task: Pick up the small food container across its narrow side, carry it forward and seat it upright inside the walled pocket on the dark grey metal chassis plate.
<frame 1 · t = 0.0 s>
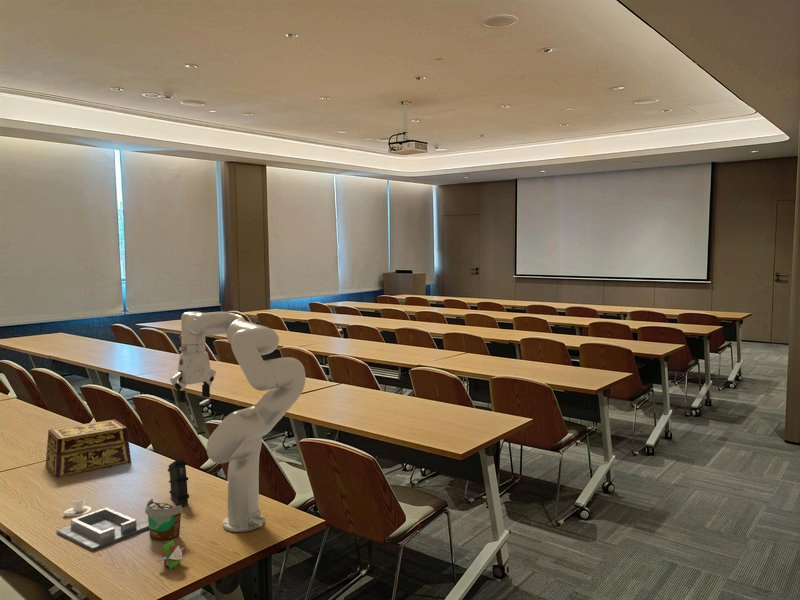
hand: (194, 399, 201), 37 cm above the table, tool pointing down, fingers open, 9 cm apart
food container: (159, 538, 179), on the table
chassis: (103, 530, 184), on the table
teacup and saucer: (67, 513, 197), on the table
decorative box: (88, 464, 243), on the table
geometric puzzle: (171, 566, 163), on the table
magazine: (178, 500, 208), on the table
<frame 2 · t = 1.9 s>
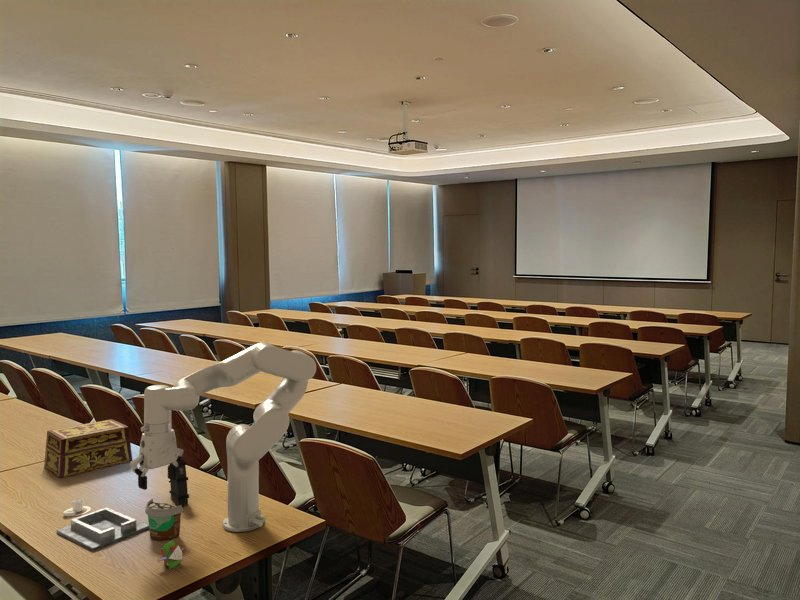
hand: (157, 483, 178), 17 cm above the table, tool pointing down, fingers open, 9 cm apart
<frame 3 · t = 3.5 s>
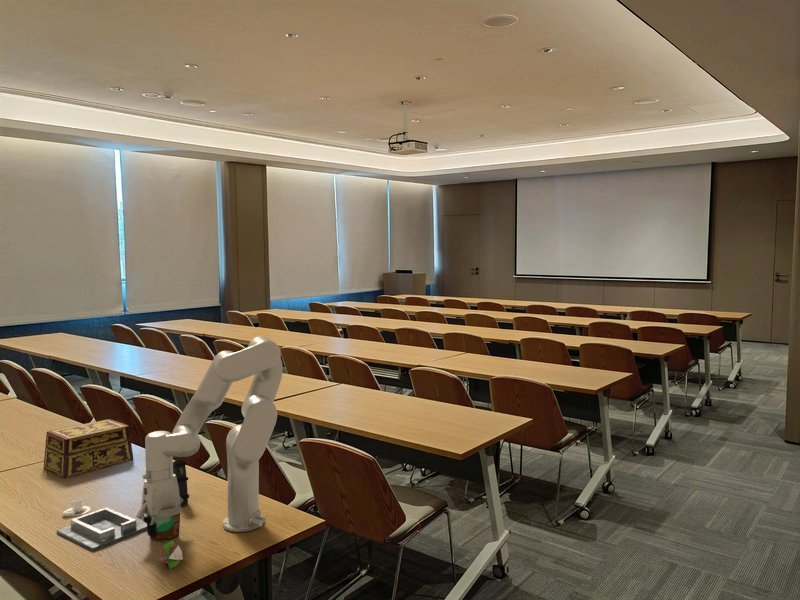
hand: (161, 531, 180), 2 cm above the table, tool pointing down, fingers closed on food container, 5 cm apart
food container: (159, 538, 179), on the table, touching gripper
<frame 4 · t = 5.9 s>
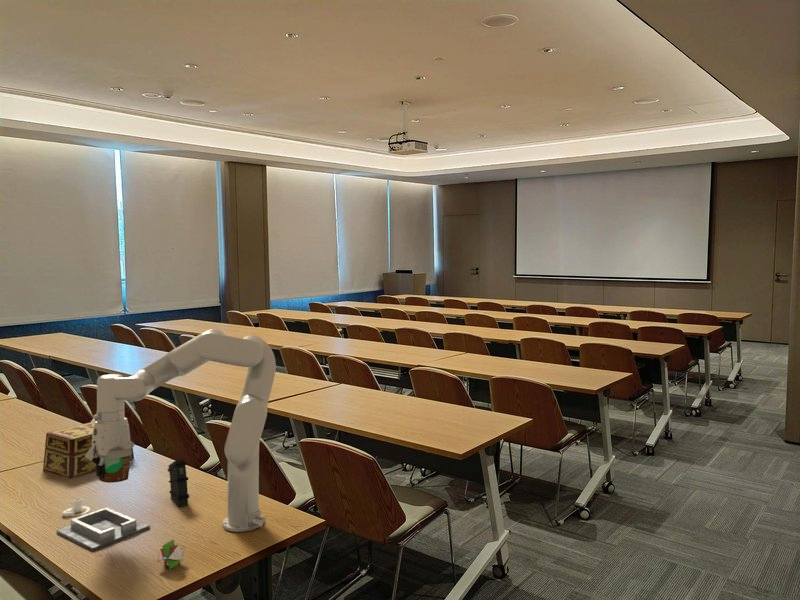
hand: (110, 473, 182), 18 cm above the table, tool pointing down, fingers closed on food container, 5 cm apart
food container: (108, 480, 181), point 16 cm above the table, touching gripper
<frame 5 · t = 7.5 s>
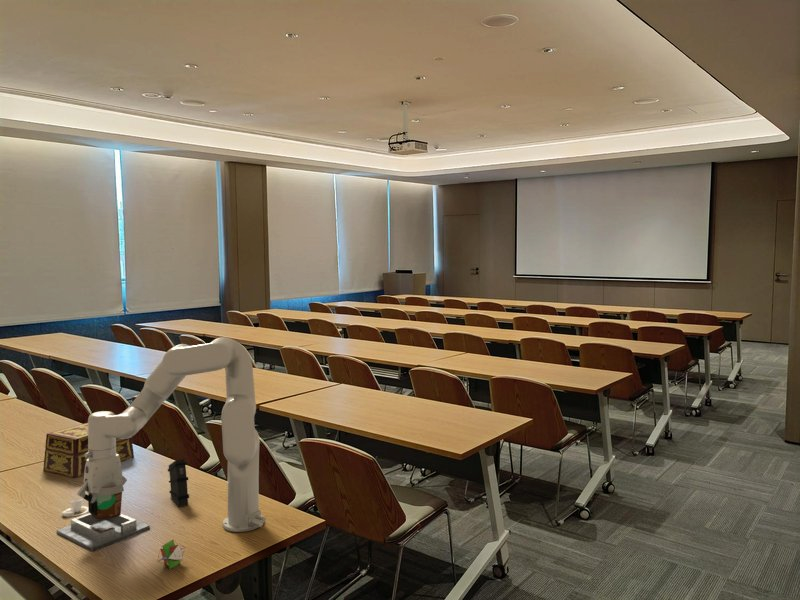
hand: (103, 510, 183), 7 cm above the table, tool pointing down, fingers closed on food container, 5 cm apart
food container: (101, 516, 183), point 5 cm above the table, touching gripper
when the fingers open (5 cm above the table, at t = 8.2 s): food container drops 2 cm, resting on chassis.
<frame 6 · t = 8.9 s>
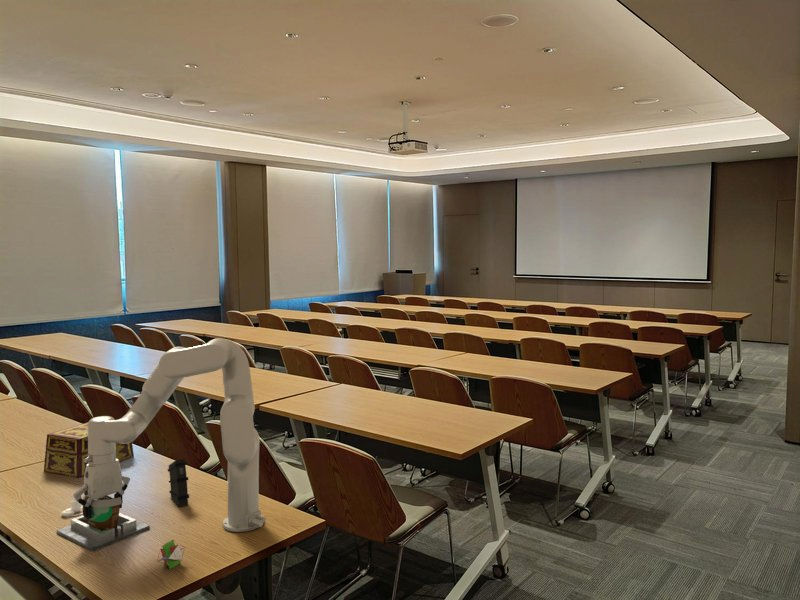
hand: (103, 512, 183), 6 cm above the table, tool pointing down, fingers open, 9 cm apart
food container: (97, 530, 182), point 1 cm above the table, touching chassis
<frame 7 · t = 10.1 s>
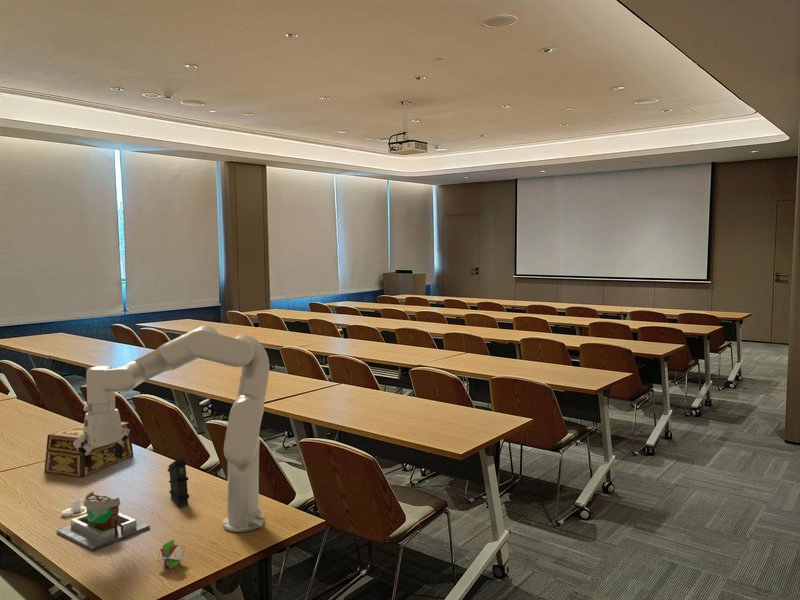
hand: (103, 462, 182), 21 cm above the table, tool pointing down, fingers open, 9 cm apart
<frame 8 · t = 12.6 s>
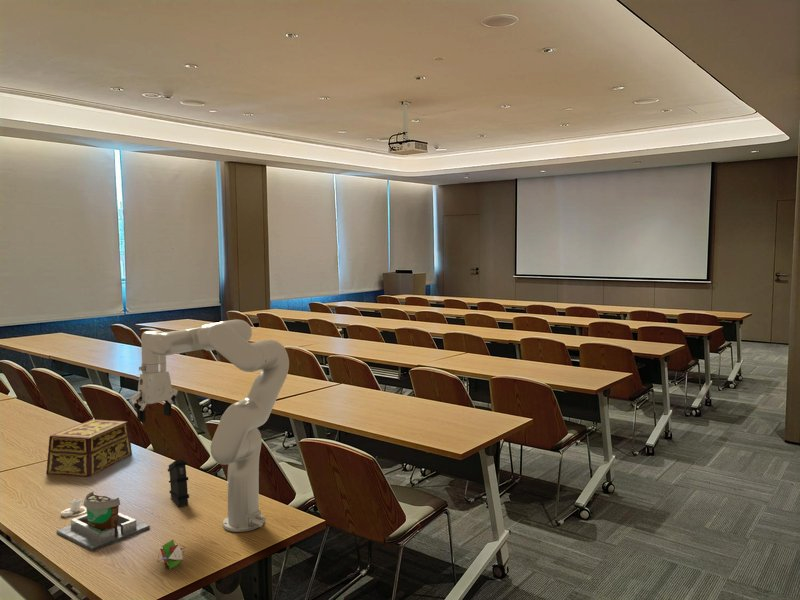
hand: (154, 418, 200), 30 cm above the table, tool pointing down, fingers open, 9 cm apart
at the end: food container 1.9 cm off-centre on the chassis, point 0.8 cm above the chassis's base; food container tilted 0°; the gripper is holding nothing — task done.
